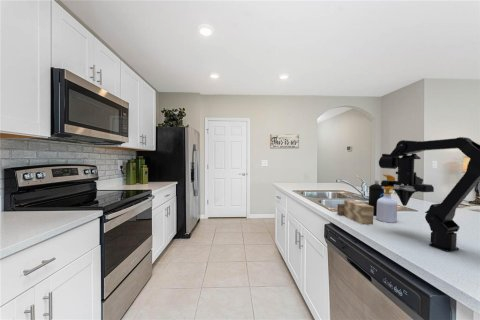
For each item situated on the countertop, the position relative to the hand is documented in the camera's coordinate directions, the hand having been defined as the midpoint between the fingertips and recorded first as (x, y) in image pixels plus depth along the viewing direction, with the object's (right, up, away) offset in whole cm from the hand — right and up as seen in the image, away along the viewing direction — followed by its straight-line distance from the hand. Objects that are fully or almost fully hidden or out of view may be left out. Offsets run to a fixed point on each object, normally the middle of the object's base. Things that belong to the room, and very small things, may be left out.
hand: (404, 205), depth 99 cm
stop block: (-9, -12, +33) cm, 36 cm away
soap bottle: (+7, -13, +23) cm, 28 cm away
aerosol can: (+9, -13, +36) cm, 39 cm away
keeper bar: (-8, -12, +24) cm, 28 cm away
